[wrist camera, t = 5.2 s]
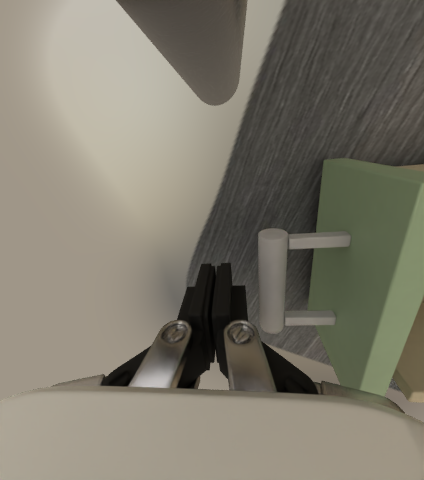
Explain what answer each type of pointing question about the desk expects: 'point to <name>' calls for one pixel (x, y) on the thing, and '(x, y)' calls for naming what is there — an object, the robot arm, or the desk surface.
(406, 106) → the desk surface
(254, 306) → the desk surface
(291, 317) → the drawer
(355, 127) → the desk surface
